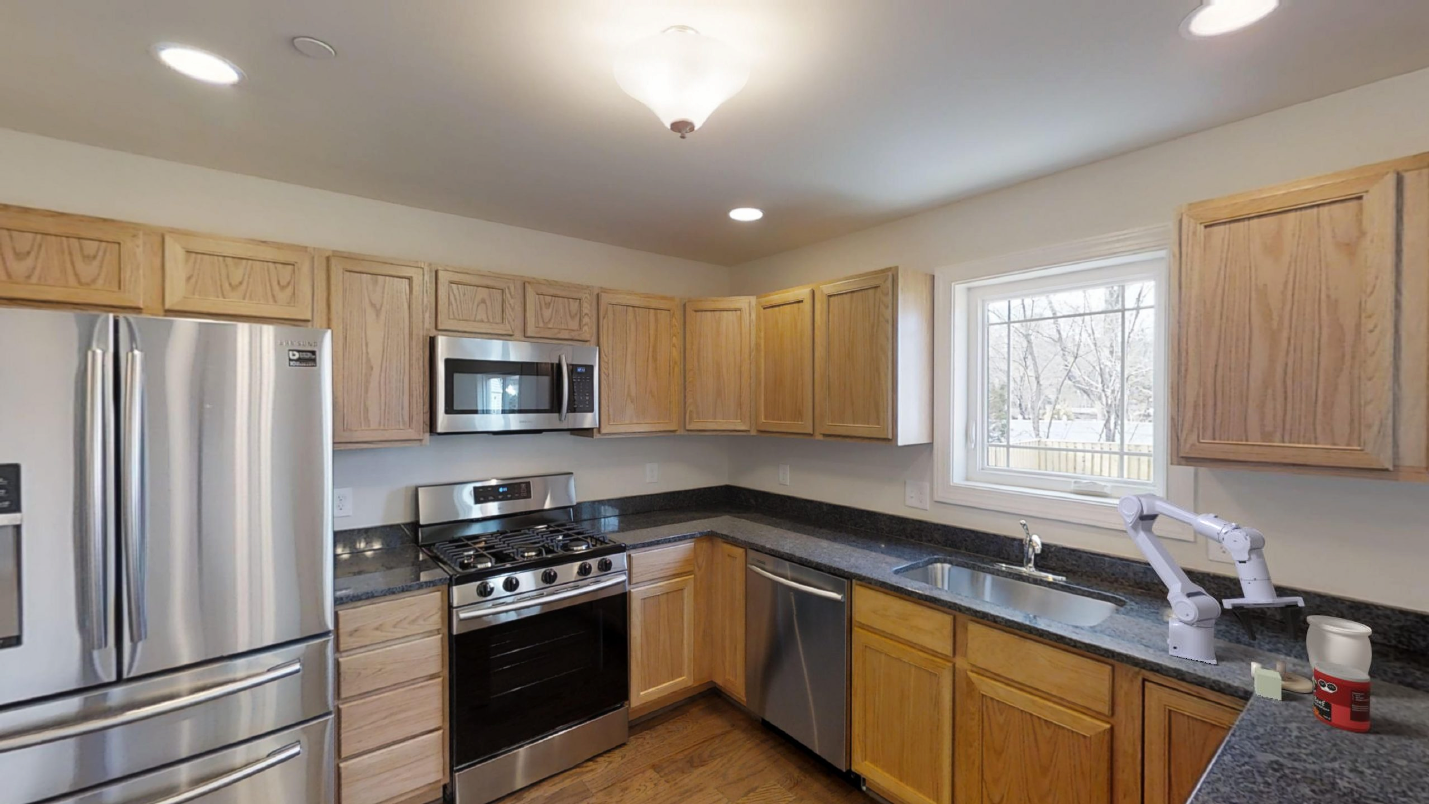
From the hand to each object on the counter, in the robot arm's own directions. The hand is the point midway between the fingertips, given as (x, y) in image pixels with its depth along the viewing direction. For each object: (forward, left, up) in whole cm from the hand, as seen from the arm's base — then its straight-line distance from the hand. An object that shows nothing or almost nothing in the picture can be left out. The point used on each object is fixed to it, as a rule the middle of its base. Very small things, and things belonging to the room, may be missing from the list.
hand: (1273, 639), depth 136 cm
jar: (+12, +9, -11) cm, 19 cm away
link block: (-2, -6, -11) cm, 13 cm away
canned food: (+9, -13, -11) cm, 19 cm away
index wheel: (+3, +3, -11) cm, 12 cm away
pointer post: (-3, +3, -11) cm, 11 cm away
